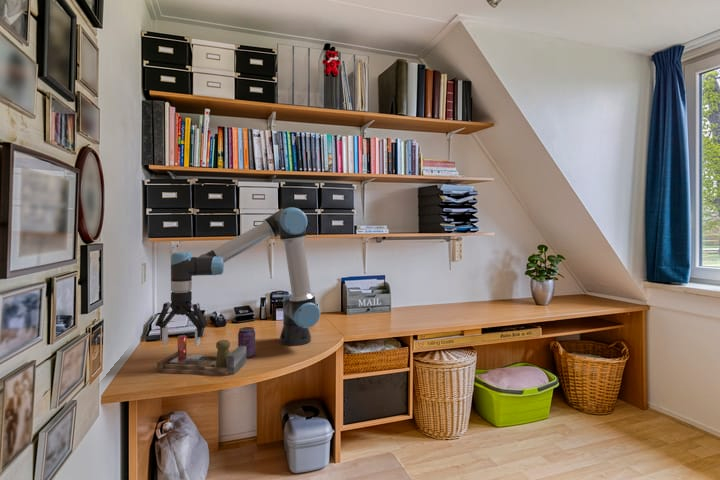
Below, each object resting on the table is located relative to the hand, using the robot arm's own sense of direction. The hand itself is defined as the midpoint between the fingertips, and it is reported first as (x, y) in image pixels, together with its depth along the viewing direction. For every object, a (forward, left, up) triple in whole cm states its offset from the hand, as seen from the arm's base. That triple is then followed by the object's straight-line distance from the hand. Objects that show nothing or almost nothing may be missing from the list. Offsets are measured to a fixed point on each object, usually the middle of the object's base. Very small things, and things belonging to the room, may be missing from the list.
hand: (181, 344), depth 152 cm
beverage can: (-21, -14, -9) cm, 27 cm away
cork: (-17, 0, -9) cm, 19 cm away
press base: (-9, 0, -9) cm, 13 cm away
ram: (-3, 0, -8) cm, 8 cm away
